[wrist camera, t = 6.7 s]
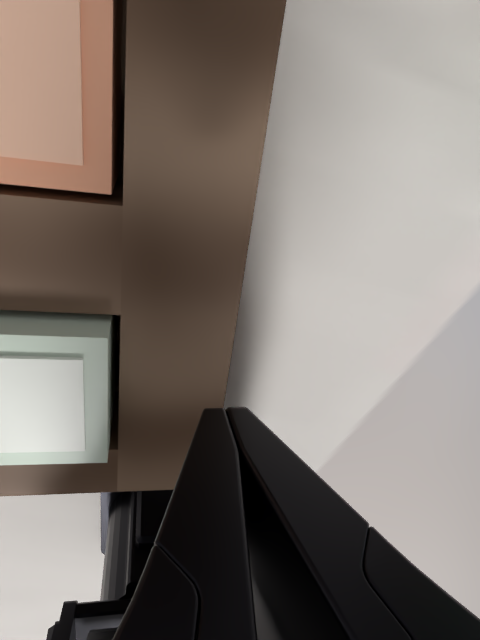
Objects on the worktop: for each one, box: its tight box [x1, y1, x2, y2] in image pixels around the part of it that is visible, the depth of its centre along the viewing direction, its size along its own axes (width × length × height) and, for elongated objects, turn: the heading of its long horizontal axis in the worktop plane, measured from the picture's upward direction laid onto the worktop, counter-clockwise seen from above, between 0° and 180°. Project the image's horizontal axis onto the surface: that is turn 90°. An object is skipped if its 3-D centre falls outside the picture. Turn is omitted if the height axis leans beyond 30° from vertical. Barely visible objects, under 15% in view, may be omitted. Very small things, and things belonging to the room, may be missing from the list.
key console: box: [0, 0, 286, 496], centre depth 15 cm, size 19×13×5 cm
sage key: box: [0, 310, 116, 465], centre depth 15 cm, size 5×5×4 cm
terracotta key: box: [0, 0, 122, 195], centre depth 12 cm, size 5×5×4 cm
